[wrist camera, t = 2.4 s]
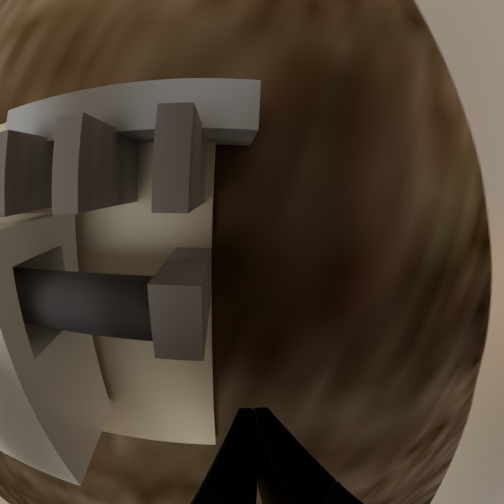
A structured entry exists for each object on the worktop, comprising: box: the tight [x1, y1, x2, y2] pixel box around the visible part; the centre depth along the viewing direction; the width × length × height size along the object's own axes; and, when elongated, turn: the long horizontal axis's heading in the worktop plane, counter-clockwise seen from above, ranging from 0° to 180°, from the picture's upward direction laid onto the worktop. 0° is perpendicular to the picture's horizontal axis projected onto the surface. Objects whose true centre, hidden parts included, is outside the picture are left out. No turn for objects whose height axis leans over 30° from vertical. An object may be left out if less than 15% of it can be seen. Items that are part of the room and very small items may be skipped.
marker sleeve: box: [0, 212, 112, 486], centre depth 6 cm, size 4×7×4 cm, turn 177°
